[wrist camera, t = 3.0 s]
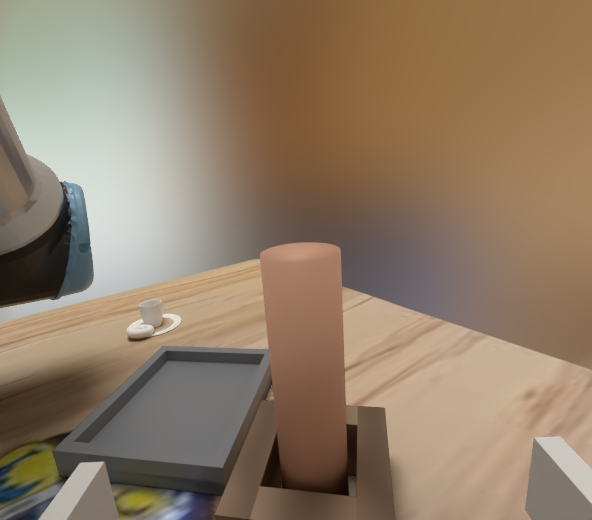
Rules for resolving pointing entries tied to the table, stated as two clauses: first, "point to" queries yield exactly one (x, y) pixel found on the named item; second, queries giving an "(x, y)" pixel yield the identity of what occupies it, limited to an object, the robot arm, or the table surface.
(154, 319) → the teacup and saucer
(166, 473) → the tray
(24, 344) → the table surface
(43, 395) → the table surface
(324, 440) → the dowel
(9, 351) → the table surface
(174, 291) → the table surface
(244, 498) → the socket block
